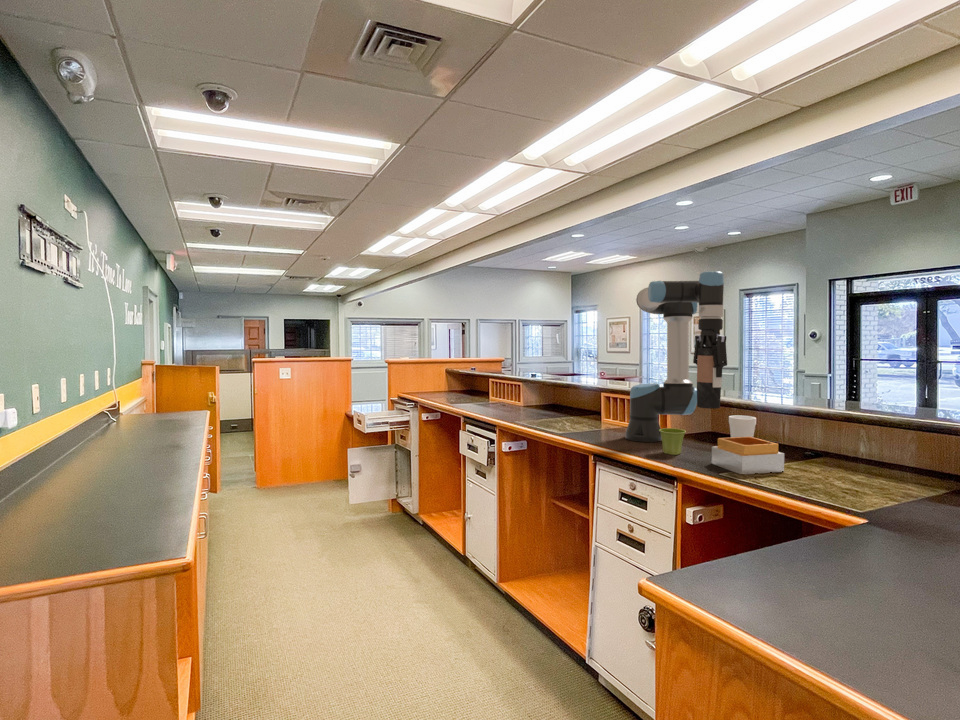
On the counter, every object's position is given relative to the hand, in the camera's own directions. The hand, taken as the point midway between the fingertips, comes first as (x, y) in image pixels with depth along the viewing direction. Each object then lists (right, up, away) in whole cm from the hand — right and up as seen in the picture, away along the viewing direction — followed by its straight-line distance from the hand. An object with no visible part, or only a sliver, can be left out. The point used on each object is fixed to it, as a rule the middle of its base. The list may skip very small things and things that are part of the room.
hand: (709, 385), depth 185 cm
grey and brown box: (+15, -27, 0) cm, 31 cm away
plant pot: (-5, -26, +21) cm, 34 cm away
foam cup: (+23, -26, +25) cm, 43 cm away
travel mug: (0, -7, 0) cm, 7 cm away
